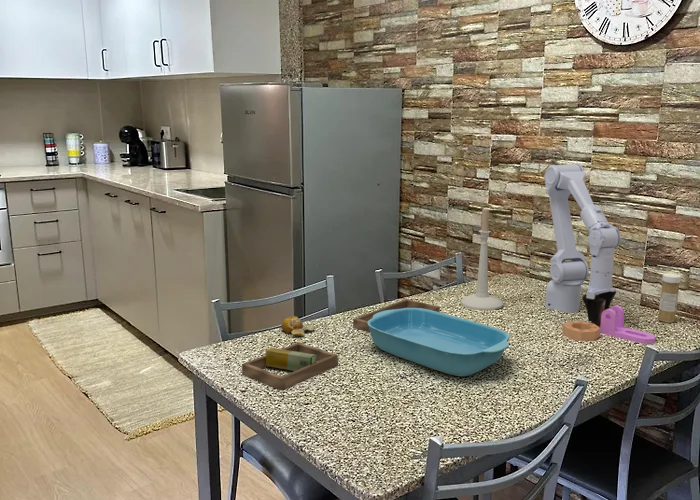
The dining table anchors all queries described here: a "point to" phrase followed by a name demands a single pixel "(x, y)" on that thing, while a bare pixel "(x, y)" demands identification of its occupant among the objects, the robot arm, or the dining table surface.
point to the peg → (600, 315)
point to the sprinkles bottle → (669, 297)
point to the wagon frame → (363, 320)
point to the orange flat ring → (581, 330)
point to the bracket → (622, 327)
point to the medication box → (288, 359)
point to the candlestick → (483, 275)
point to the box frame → (282, 382)
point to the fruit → (294, 326)
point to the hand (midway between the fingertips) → (597, 318)
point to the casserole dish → (438, 340)
